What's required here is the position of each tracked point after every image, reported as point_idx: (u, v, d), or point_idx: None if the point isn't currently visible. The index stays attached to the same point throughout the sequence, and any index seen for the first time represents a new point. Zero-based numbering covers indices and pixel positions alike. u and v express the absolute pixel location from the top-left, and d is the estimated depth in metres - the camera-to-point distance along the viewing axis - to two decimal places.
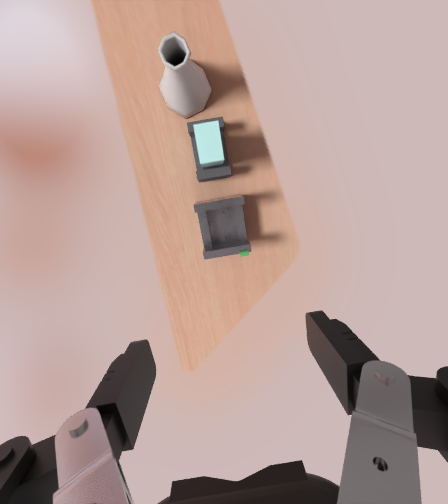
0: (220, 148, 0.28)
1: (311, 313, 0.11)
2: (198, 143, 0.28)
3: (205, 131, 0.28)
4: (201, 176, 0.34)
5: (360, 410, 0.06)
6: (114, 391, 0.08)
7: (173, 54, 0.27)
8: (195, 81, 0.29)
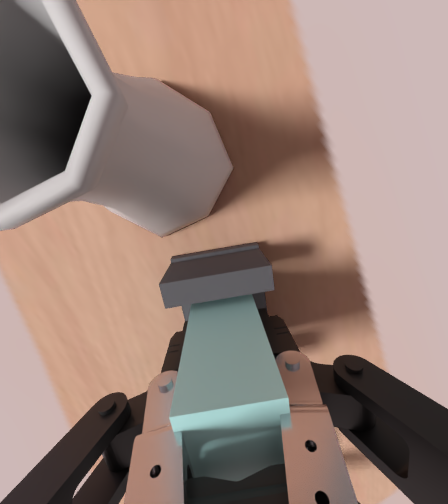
0: None
1: None
2: (194, 474, 0.06)
3: (226, 436, 0.06)
4: None
5: None
6: None
7: (72, 82, 0.06)
8: (184, 175, 0.08)
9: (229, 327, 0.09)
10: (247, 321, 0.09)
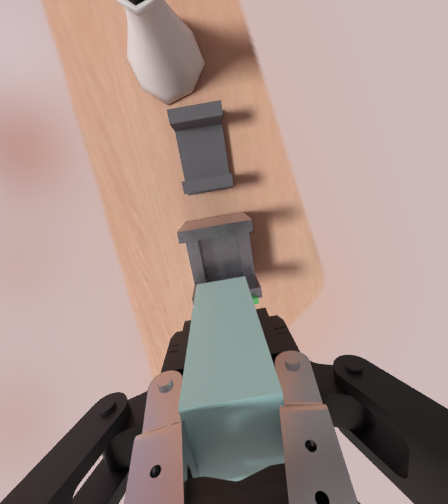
0: None
1: None
2: (200, 457, 0.07)
3: (228, 425, 0.07)
4: (190, 188, 0.23)
5: None
6: None
7: None
8: (178, 42, 0.19)
9: (229, 327, 0.10)
10: (246, 320, 0.10)
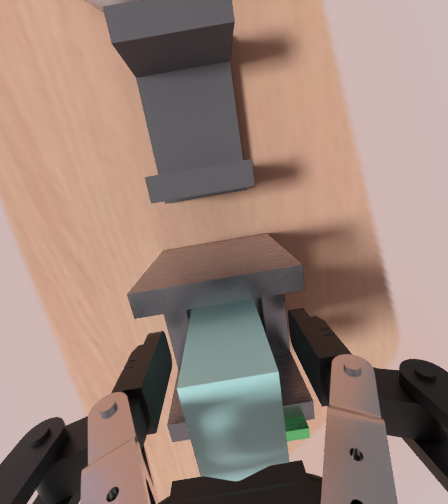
0: (280, 448, 0.08)
1: (292, 310, 0.11)
2: (198, 439, 0.07)
3: (226, 406, 0.07)
4: (163, 191, 0.11)
5: (333, 404, 0.06)
6: (138, 377, 0.09)
7: None
8: None
9: (228, 317, 0.10)
10: (244, 311, 0.10)
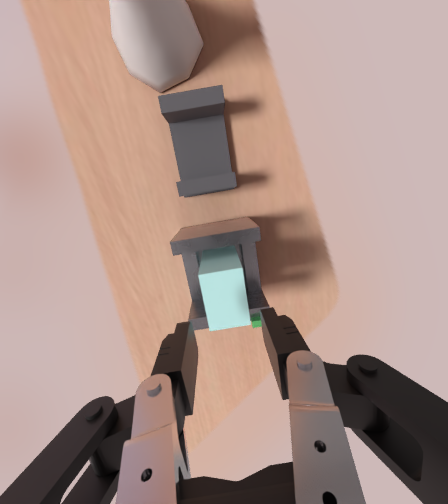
0: (244, 308, 0.16)
1: (263, 310, 0.12)
2: (207, 302, 0.16)
3: (219, 284, 0.16)
4: (186, 189, 0.20)
5: (293, 401, 0.07)
6: (176, 362, 0.09)
7: None
8: (170, 12, 0.15)
9: (222, 256, 0.19)
10: (230, 254, 0.19)
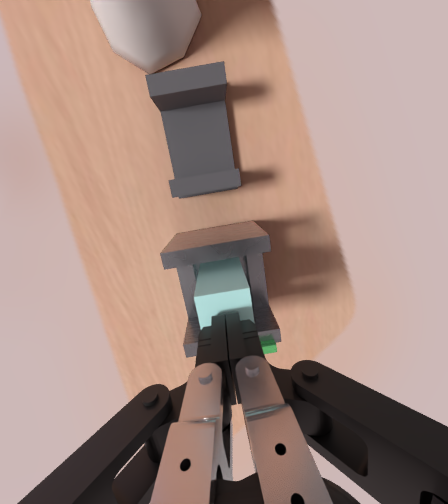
0: None
1: (228, 314, 0.12)
2: None
3: (220, 308, 0.13)
4: (180, 189, 0.16)
5: (248, 410, 0.07)
6: (221, 352, 0.09)
7: None
8: None
9: (223, 270, 0.15)
10: (234, 267, 0.16)
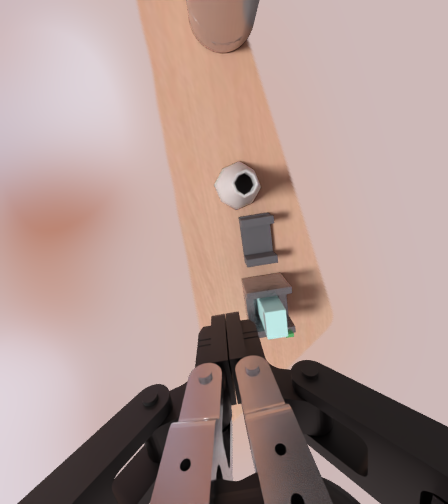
0: (285, 328, 0.34)
1: (228, 314, 0.12)
2: (268, 325, 0.33)
3: (274, 317, 0.33)
4: (251, 263, 0.37)
5: (248, 410, 0.07)
6: (221, 352, 0.09)
7: None
8: None
9: (271, 300, 0.36)
10: (275, 299, 0.36)
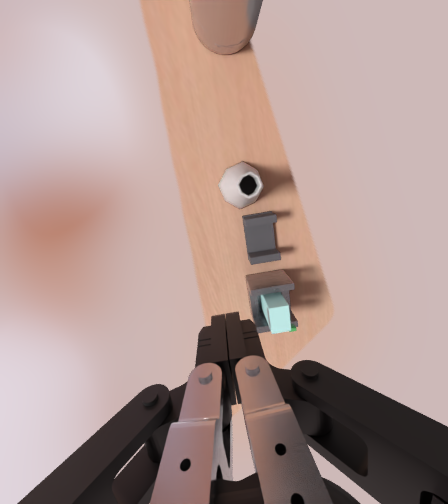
0: (288, 323, 0.35)
1: (228, 314, 0.12)
2: (271, 320, 0.35)
3: (278, 312, 0.35)
4: (255, 261, 0.39)
5: (247, 410, 0.07)
6: (221, 352, 0.09)
7: None
8: None
9: (274, 296, 0.38)
10: (278, 295, 0.38)
